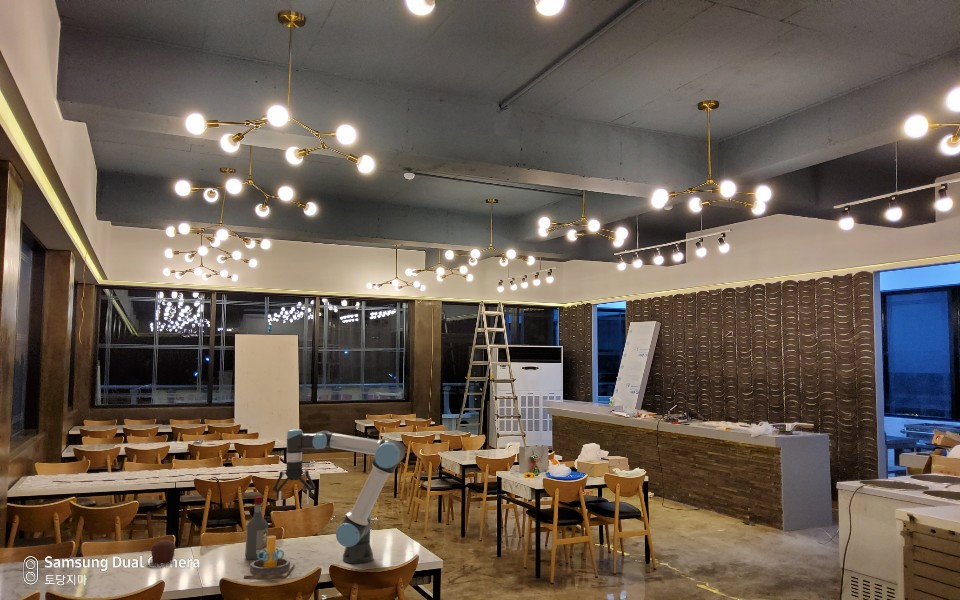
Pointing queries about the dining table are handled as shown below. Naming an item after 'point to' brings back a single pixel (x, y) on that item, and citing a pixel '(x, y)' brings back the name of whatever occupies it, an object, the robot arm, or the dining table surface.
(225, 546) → the dining table surface
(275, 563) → the orange post with loops
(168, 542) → the muffin
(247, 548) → the liquor
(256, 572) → the holder
